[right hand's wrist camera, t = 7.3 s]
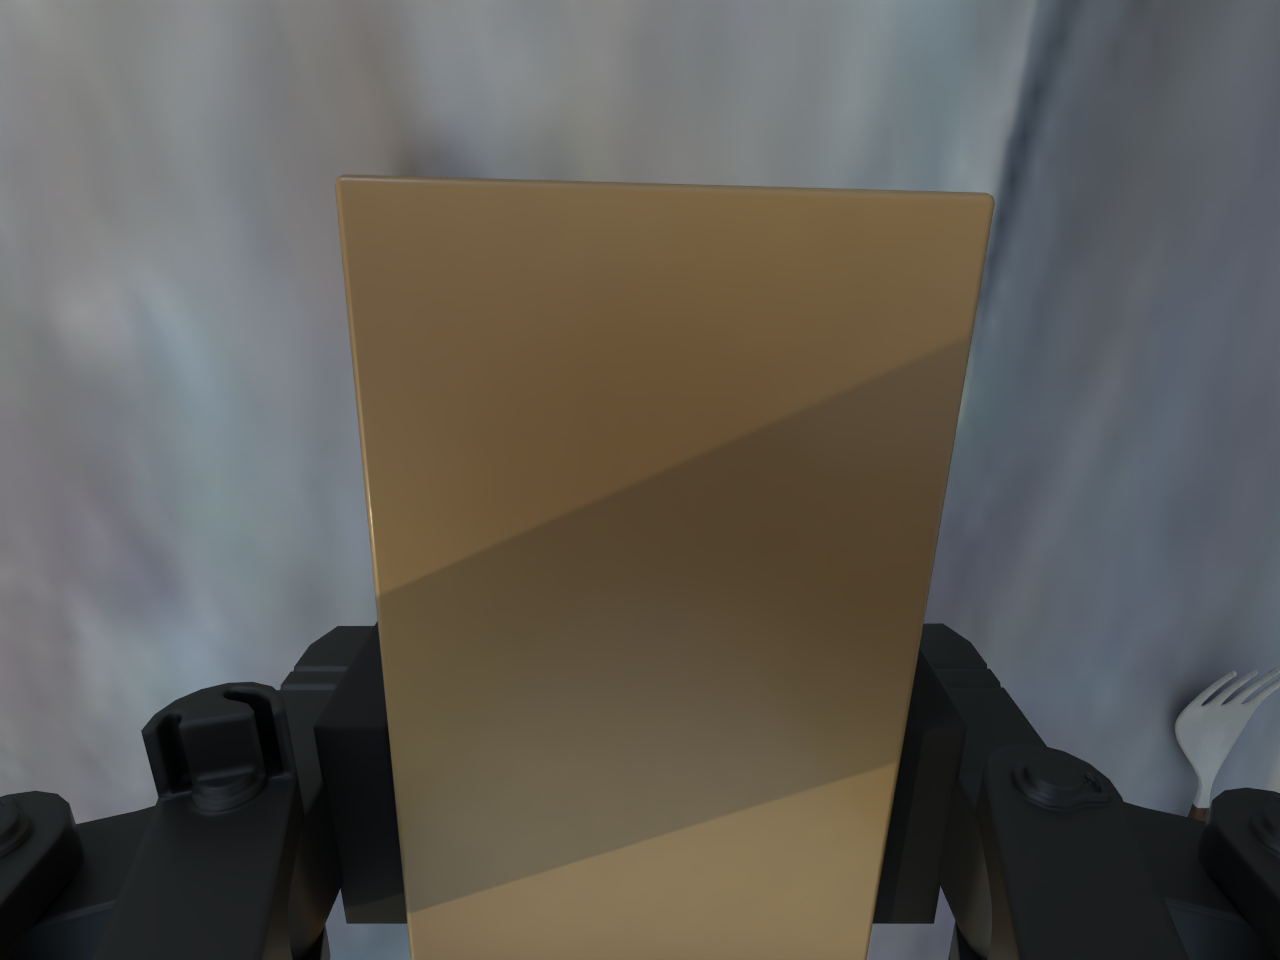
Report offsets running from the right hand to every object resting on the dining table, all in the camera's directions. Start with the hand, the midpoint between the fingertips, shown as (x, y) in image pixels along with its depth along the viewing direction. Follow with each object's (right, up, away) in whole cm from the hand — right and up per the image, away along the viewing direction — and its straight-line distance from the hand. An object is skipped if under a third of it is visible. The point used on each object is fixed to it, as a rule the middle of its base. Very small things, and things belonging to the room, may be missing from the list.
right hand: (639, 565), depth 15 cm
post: (-1, -27, +11) cm, 29 cm away
